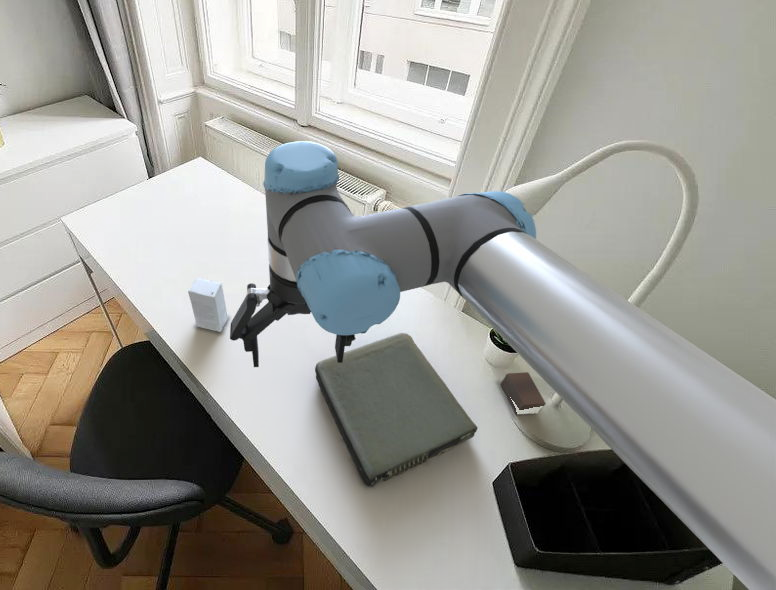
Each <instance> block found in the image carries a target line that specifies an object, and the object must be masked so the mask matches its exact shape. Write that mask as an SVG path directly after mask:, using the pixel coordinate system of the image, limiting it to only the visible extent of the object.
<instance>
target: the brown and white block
mask: <svg viewBox="0 0 776 590" xmlns="http://www.w3.org/2000/svg"><path fill="white" fill-rule="evenodd" d="M500 386H501V388H502V391H503V392H504V394H505V396H506V398H507V400H508V403H509V404H510V406H511V408H512V410H513V412H514V414H515V416H518V415H517V412H516V408H515V406H514V404H513V402H512V400H513V401H514V402H515V404H516V405H517V407H518V408H519V410H524V409H529V408H533V407H540V406H544V407H545V406H546V404H547V403H546V401H545V400H544V398H543V396H542V394H541V392H540V391H539V389H538V387H537V385H536V384H535V382H534V380H533V378H532V376H531V375H530V373H529V372H525V371H524V372H508V373H506V374H505V376H504V378H503V379H502V381H501V383H500ZM510 397H511V398H510ZM511 399H512V400H511Z"/></svg>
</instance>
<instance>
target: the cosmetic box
mask: <svg viewBox="0 0 776 590" xmlns="http://www.w3.org/2000/svg"><path fill="white" fill-rule="evenodd" d="M187 293H188V297H189V300H190V304H191V309H192V313H193V316H194V320H195V324H196V327H198V328H202V329H207V330H209V331H214V332H219V333H222V331H223V329H224V327H225V325H226V322H227V320H228V318H229V317H228V310H227V306H226V300H225V299H226V298H225V295H224V293H225V292H224V289H223V283H222V282H221V281H214V280H210V279H205V278H201V277H195V280H194V281H193V283H192V284H191V286H190V287H189V289H188V290H187Z"/></svg>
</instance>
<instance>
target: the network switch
mask: <svg viewBox="0 0 776 590" xmlns="http://www.w3.org/2000/svg"><path fill="white" fill-rule="evenodd" d="M314 372H315V380H316V381H317V383H318V387H319V389H320V391H321V393H322V396H323V397H324V400H325V402H326V404H327V406H328V409H329V411H330V413H331V415H332V418H333V420H334V423H335V424H336V426H337V429H338V431H339V433H340V435H341V437H342V440H343V442H344V443H345V445H346V448H347V450H348V452H349V454H350V457H351V458H352V461H353V463H354V465H355V467H356V468H357V471H358V474H359V476H360V478H361V480H362V481H363V482H364V485H366V486H367V488H371V487H374V486H376V485H377V484H379V483H382V482H386V481H388V480H391V479H393V478H394V477H397V476H399V475H403V474H404V473H405V472H407V471H410V470H411V469H413V468H415V467H417V466H421V465H422V464H423V463H426V462H427V461H428V459H431V458H432V457H436V456H438V455H442V454H444V453H445V452H446V451H449V450H452V449H453V448H454V447H457V446H459V445H460V444H462V443H464V442H467V441H468V440H471V439H472V438H474V436H476V435H475V433H476V432H477V430H478V426H477V425H476V424H475V422H474V421H473V420H472V419H471V417H470V416H469V415H468V414H467V412H466V411H465V409H464V408H463V407H462V405H461V403H460V402H459V401H458V400H457V398H456V397H455V396H454V395H453V393H452V391H451V390H450V388H449V387H448V385H446V383H445V382H444V380H443V379H442V378H441V376H440V375H439V374H438V372H437V371H436V370H435V368H434V366H432V365H431V363H430V361H429V360H428V359H427V357H426V356H425V355H424V353H423V352H422V350H421V349H420V348H419V347H418V345H417V343H415V341H414V339H413V337H412V336H411V335H410V334H408V333H405V332H399V333H396V334H393V335H390V336H388V337H385V338H381V339H379V340H376V341H373V342H370V343H368V344H364V345H362V346H360V347H357V348H353V349H351V350H348V351H344V355H343V362H342V363H338V362H337V356H336V355H334V356H331V357H328V358H324V359H323V360H320V361H318V362H317V363H316V364H315V368H314Z"/></svg>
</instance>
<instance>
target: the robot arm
mask: <svg viewBox="0 0 776 590" xmlns="http://www.w3.org/2000/svg"><path fill="white" fill-rule="evenodd" d="M339 180H340V175H339V163H338V158H337V155H336V154H335V152H334V151H332V150H331V148H329V147H328V146H326V145H324V144H321V143H318V142H314V141H307V140H300V141H299V140H297V141H292V142H286V143H282V144H280V145H278V146H276V147H275V148H273V149H271V151H269V153H268V155H267V156H266V158H265V161H264V181H263V183H262V186H263V188H264V195H265V196H264V197H265V209H266V211H265V212H266V227H267V250H268V251H267V254H268V255H267V256H268V273H269V274H268V275H269V284H268V286H267V288H260V287H259V288H257V285H256V284H255V283H253V282H252V283H248V284H247V285H246V296H245V297H244V299H243V301H242V302H241V304H240V306H239V308H238V309H237V311H236V313H235V315H234V317H233V318H232V320H231V322H230V327H229V328H230V329H229V339H230V340H231V341H233V342H234V341H238V340H239V339H241V340H242V342H243V348H244V351H245V353H249V352H250V353H252V354H251V355H252V362H253V364H252V365H253V368H259V367H260V364H259V363H260V360H259V359H260V358H259V357H260V355H259V352H260V351H259V342H258V341H259V340H258V336H259V335H260V334H261V333H262V332H263V331H264V330H265V329H266V328H268V327H269V326H270V325H272V324H273V323H274V322H275V321H277V322H279V321H280V320H281V319H282V318H283V317H285V316H286V315H287V316H294V315H312V317H313V319H314V320H315V322H316V323H317V325H318V326H319V327H320V328H322V329H323V330H324V331H326V332H328V333H330V334H334V335H335V343H334V350H335V356H337V362H338V363H342V362H343V355H344V353H345V349H346V348H345V347H350V346H352V345H353V344H352V343H353V342H354V341H355V340H356V335H358V334H359V335H360V334H366V333H367V332H368V331H369V329H371V327H373V326H375V325H381V324H382V323H383V322H385V321H386V320H388V319H389V318H390V317H391V315H392V314H393V313H394V312H395V311H396V309H397V307H398V305H399V304H400V299H401V293H402V292H407V291H411V290H415V289H419V288H424V287H427V286H430V285H435V284H440V283H447V284H448V285H450V286H451V288H453V290H455V291H456V292H457V293H458V294H459V296H461V298H463V299H464V300H465V301H466V302H467V303H468V304H469V305H470V306H471V308H473V309H474V310H475V311H476V312H477V313H478V314H479V315H480V316H481V317H482V318H483V319H484V321H486V322H487V324H488V325H490V327H491V328H492V329H493V330H494V331H495V332H496V333H497V334H498V335H499V336H500V337H501V338H502V339H503V340H504V341H505V342H506V343H507V344H508V345H509V346H510V347H511V348H512V349H513V350H514V351H515V352H516V353H517V354H518V355H519V356H520V358H521V359H522V360H524V362H525V363H526V364H528V366H530V367H531V369H533V371H534V372H535V373H536V374H537V375H538V376H539V377H540V378H541V379H542V380H543V381H544V382H545V383H546V384H547V385H548V386H549V387H550V388H551V389H552V390H553V391H554V392H555V393H556V394H557V395H558V396H559V397H560V398H561V399H562V400H563V402H564V403H566V404H567V406H568V407H570V408H571V409H572V411H574V413H575V414H576V415H577V416H578V417H579V418H580V419H581V420H582V421H584V423H585V424H586V425H587V426H588V427H589V428H590V429H591V430H592V431H593V432H594V434H596V435H597V436H598V437H599V438H600V439H601V440H602V441H603V442H604V443H605V444H606V446H608V447H609V448H610V449H611V450H612V451H613V452H614V453H615V454H616V455H617V456H618V458H619V459H620V460H621V461H623V463H624V464H625V465H626V466H627V467H628V468H629V469H630V470H631V471H632V472H633V473H634V474H635V475H636V476H637V477H638V478H639V479H640V480H641V481H642V482H643V483H644V484H645V485H646V486H647V487H648V488H649V490H651V492H653V494H655V495H656V497H658V498H659V499H660V500H661V501H662V502H663V503H664V505H665V506H666V507H667V508H668V509H669V510H670V511H671V512H672V513H673V514H674V515H675V516H677V518H678V519H679V520H680V521H681V522H682V523H683V524H684V525H685V526H686V527H687V528H688V529H689V530H690V531H691V532H692V533H693V534H694V535H695V537H697V538H698V539H699V540H700V542H701V543H703V545H705V547H706V548H708V549H709V551H710V552H712V554H713V555H715V556H716V558H717V559H718V560H719V561H720V562H721V563H722V564H723V565H724V566H725V567H726V568H727V569H728V570H729V571H730V572H731V573H732V574H733V576H735V577H736V578H737V580H738V581H740V582H741V583H742V585H744V586H745V587H746V588H747V589H748V590H776V398H775V397H773V396H771V395H769V394H768V393H766V392H765V391H763V390H762V389H761V388H759V387H758V386H756V385H755V384H753V383H752V382H751V381H749V380H747V379H746V378H744V377H743V376H741V375H740V374H738V373H737V372H736V371H734V370H732V369H731V368H729V367H728V366H726V365H725V364H723V363H722V362H720V361H719V360H717V359H716V358H714V357H713V356H711V355H710V354H708V353H707V352H706V351H704V350H703V349H701V348H700V347H698V346H696V345H695V344H694V343H692V342H690V341H689V340H687V339H686V338H684V337H683V336H681V335H680V334H678V333H677V332H675V331H674V330H673V329H671V328H670V327H668V326H666V325H665V324H663V323H662V322H661V321H659V320H658V319H656V318H654V317H653V316H651V315H650V314H649V313H647V312H645V310H643V309H641V308H639V307H638V306H637V305H635V304H633V303H632V302H630V301H629V300H628V299H626V298H624V297H623V296H622V295H621V294H619V293H617V292H616V291H614V290H613V289H611V288H610V287H608V286H606V284H603V282H601V281H599V279H597V278H594V277H593V276H592V275H590V274H588V273H587V272H586V271H585V270H583V269H581V268H580V267H578V266H576V265H575V264H574V263H572V262H571V261H569V260H568V259H566V258H565V257H563V256H562V255H560V254H559V253H558V252H556V251H554V250H553V249H551V248H550V247H549V246H547V245H546V244H544V243H542V242H541V241H540V240H538V239H537V228H536V223H535V220H534V218H533V216H532V214H531V213H530V212H528V211H527V210H526V208H525V207H524V202H523V201H521V200H520V199H519V198H518V197H516V196H515V195H513V194H511V193H509V192H506V191H502V190H491V191H482V192H466V193H462V194H458V195H456V196H453V197H449V198H444V199H439V200H434V201H429V202H423V203H419V204H415V205H410V206H406V207H401V208H396V209H389V210H385V211H380V212H379V211H378V212H374V213H369V214H364V215H360V216H359V215H358V216H355V214H353V212H352V211H351V209H350V208H349V206H348V205H347V203H346V202H345V200H344V199H343V198H342V196H341V194H340V193H339V190H338V182H339ZM263 300H267V301H268V302H266V304H265V305H263V307H261V308H260V309H259V310H257V309H256V308H258V307H260V306H261V303H262V302H263ZM256 310H257V312H256ZM255 312H256V313H255ZM254 313H255V314H254Z"/></svg>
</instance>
